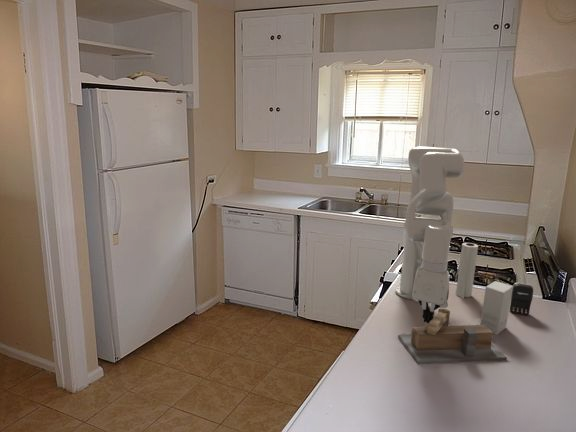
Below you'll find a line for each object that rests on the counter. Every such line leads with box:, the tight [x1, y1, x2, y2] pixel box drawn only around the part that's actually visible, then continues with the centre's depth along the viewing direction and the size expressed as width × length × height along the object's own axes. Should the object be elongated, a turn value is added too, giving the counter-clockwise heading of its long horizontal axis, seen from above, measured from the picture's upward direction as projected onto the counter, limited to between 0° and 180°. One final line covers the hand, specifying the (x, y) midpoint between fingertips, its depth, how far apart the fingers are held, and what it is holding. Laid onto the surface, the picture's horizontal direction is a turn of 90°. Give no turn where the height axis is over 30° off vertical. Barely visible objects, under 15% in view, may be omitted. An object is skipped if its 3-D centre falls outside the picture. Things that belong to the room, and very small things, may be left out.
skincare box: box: [479, 280, 513, 335], centre depth 159 cm, size 8×7×16 cm
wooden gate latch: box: [397, 320, 508, 364], centre depth 145 cm, size 16×28×9 cm, turn 98°
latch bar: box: [427, 308, 451, 335], centre depth 146 cm, size 15×4×3 cm, turn 146°
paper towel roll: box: [455, 242, 479, 299], centre depth 187 cm, size 7×6×21 cm
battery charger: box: [509, 282, 534, 316], centre depth 173 cm, size 7×4×11 cm, turn 67°
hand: (427, 321), depth 146 cm, fingers closed
